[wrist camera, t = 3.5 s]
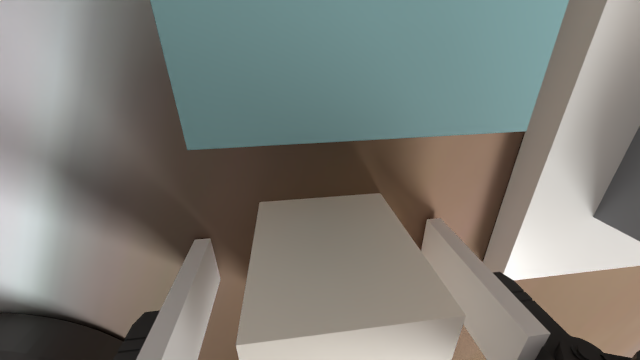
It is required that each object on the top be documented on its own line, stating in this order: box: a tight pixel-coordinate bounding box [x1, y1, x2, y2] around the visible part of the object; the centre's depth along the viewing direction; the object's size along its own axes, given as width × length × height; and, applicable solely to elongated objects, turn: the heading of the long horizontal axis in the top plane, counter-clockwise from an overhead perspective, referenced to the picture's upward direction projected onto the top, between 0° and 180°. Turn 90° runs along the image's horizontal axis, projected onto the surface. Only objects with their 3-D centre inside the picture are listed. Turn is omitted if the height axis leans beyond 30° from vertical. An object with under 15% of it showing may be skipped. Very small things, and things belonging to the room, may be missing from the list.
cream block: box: [236, 193, 466, 360], centre depth 11 cm, size 6×6×7 cm
